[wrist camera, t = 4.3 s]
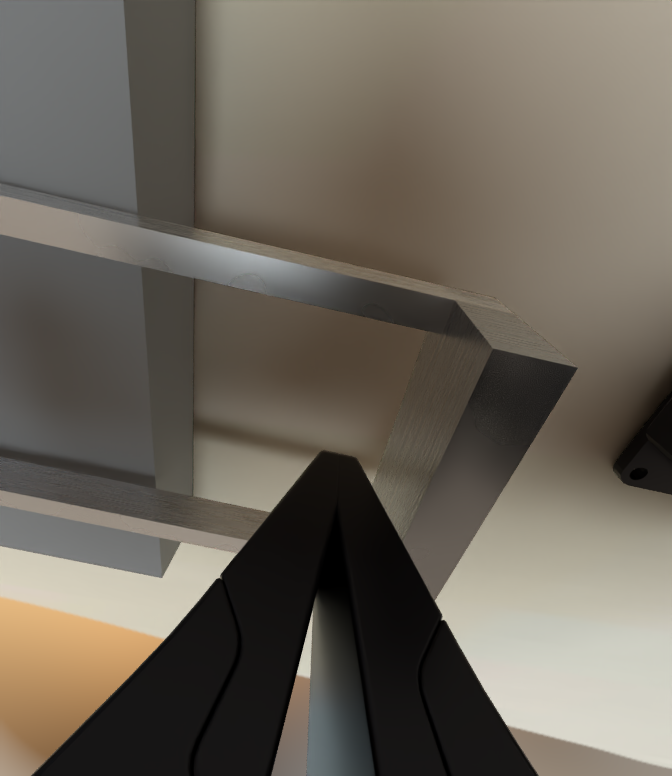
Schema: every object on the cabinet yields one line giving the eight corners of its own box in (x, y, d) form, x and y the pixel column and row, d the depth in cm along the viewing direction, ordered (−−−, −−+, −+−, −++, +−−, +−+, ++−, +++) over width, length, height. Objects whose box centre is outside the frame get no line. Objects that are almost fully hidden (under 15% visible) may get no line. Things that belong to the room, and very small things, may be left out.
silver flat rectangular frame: (494, 297, 7) (578, 366, 4) (384, 550, 10) (390, 671, 8) (-497, 68, 6) (-1151, -24, 3) (-235, 423, 10) (-454, 508, 7)
